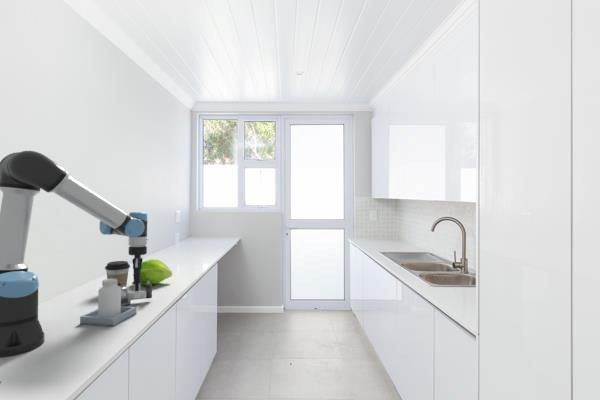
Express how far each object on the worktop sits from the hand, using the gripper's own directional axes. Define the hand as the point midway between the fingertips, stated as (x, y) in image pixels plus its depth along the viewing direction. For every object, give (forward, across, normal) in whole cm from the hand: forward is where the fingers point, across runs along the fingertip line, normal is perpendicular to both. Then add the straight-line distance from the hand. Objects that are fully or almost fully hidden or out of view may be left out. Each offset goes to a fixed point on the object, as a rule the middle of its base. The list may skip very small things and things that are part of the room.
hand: (136, 297), depth 156 cm
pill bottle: (+3, -17, +9) cm, 19 cm away
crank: (+1, +2, +1) cm, 2 cm away
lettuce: (+2, +35, -5) cm, 36 cm away
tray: (+3, -17, +9) cm, 19 cm away
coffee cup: (+2, +24, +11) cm, 26 cm away
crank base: (+3, +5, +4) cm, 7 cm away
